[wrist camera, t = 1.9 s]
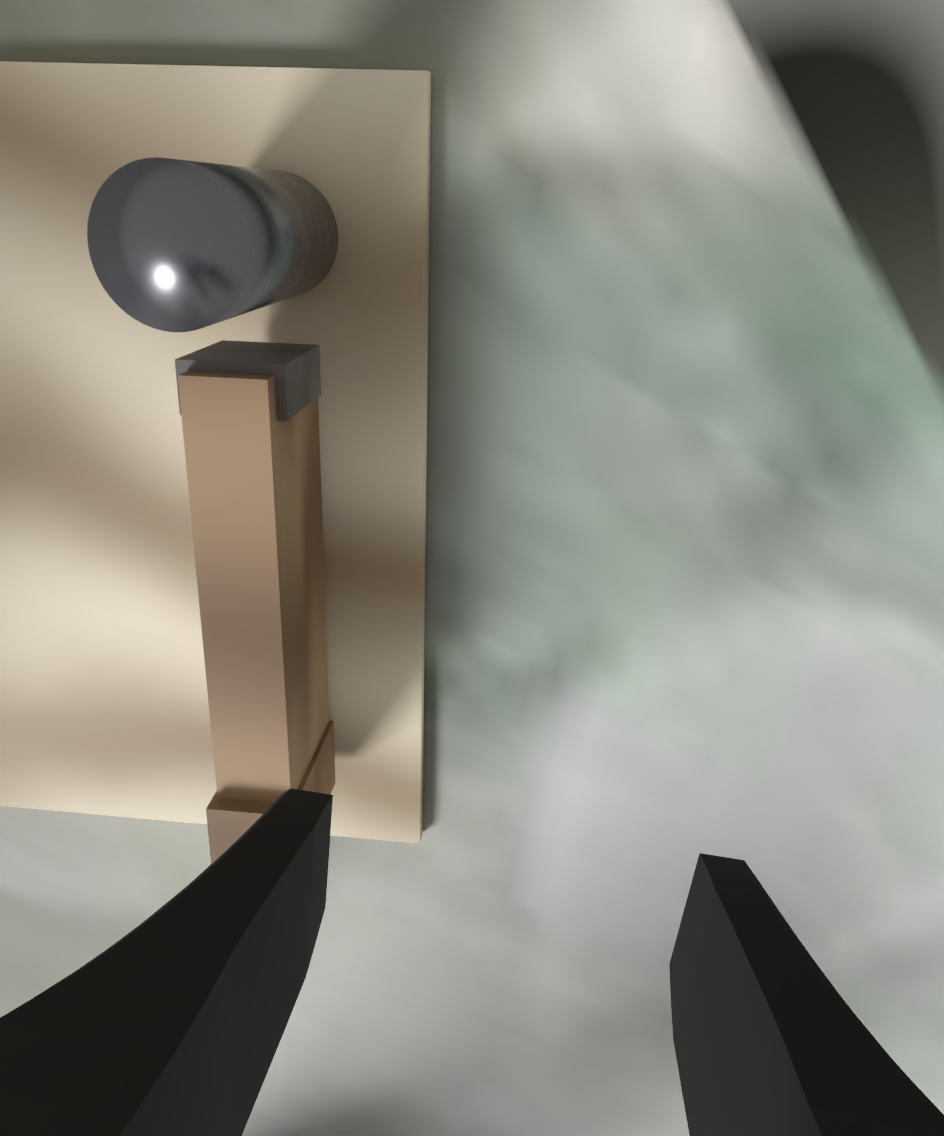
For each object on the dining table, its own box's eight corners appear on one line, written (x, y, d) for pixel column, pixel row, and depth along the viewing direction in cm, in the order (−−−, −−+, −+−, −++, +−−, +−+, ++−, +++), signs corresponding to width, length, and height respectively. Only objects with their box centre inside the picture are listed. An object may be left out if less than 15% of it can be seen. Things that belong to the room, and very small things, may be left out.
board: (422, 833, 24) (420, 843, 24) (-139, 783, 25) (-149, 792, 25) (431, 73, 17) (428, 70, 17) (-339, 56, 18) (-358, 53, 18)
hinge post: (344, 297, 19) (252, 336, 13) (233, 292, 19) (98, 328, 14) (341, 172, 18) (241, 159, 12) (225, 169, 18) (76, 154, 13)
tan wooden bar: (231, 336, 19) (155, 367, 15) (325, 341, 18) (270, 372, 15) (262, 775, 23) (207, 876, 19) (339, 782, 23) (299, 885, 19)
